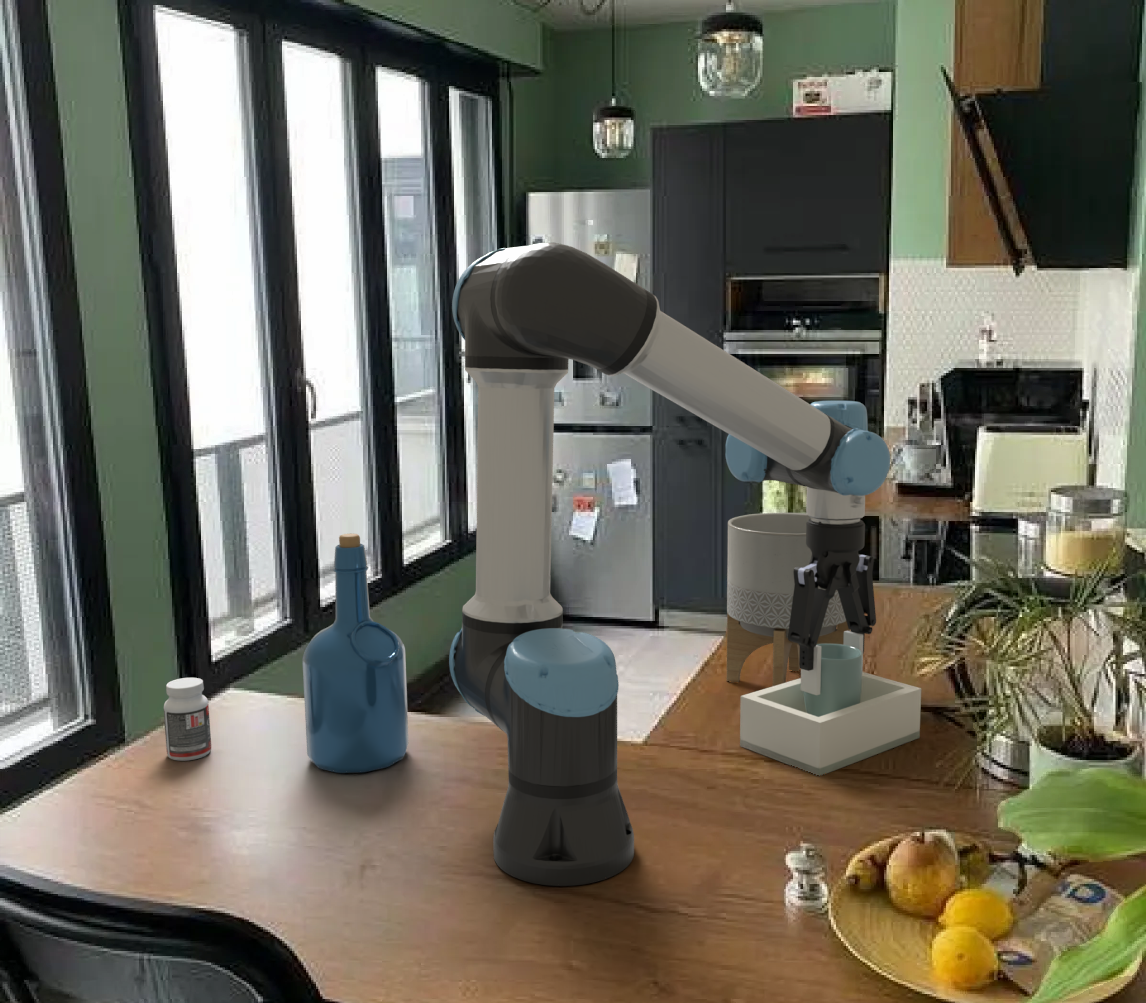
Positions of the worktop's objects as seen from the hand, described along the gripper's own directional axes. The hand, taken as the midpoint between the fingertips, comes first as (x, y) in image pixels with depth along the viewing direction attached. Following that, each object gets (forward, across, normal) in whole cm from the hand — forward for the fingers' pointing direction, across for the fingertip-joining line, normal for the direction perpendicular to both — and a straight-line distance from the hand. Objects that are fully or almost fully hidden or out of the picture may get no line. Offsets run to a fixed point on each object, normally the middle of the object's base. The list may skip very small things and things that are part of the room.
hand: (831, 685), depth 153 cm
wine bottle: (+8, -52, +36) cm, 64 cm away
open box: (+8, 0, 0) cm, 8 cm away
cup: (+5, 0, 0) cm, 5 cm away
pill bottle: (+8, -69, +52) cm, 87 cm away
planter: (+8, +14, +20) cm, 26 cm away
